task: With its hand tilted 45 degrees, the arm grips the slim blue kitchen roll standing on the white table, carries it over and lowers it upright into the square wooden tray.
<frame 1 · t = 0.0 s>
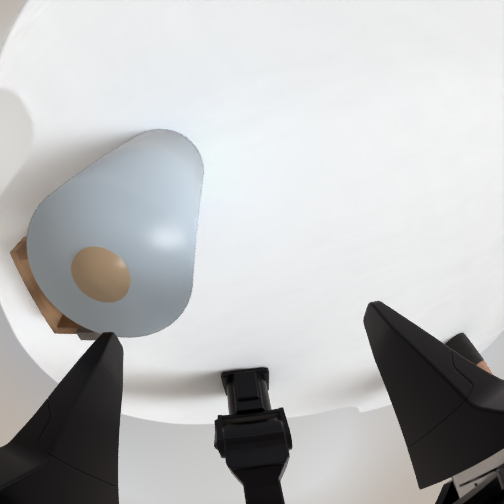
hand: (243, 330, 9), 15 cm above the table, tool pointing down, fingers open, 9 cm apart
kitchen roll: (159, 172, 20), on the table
travel mug: (452, 343, 44), on the table
square wooden tray: (78, 277, 24), on the table
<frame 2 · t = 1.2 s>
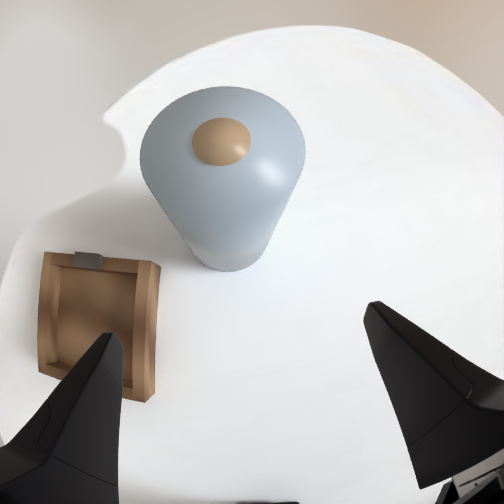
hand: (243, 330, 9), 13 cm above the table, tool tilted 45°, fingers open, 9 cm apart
kitchen roll: (228, 230, 23), on the table
square wooden tray: (99, 323, 21), on the table
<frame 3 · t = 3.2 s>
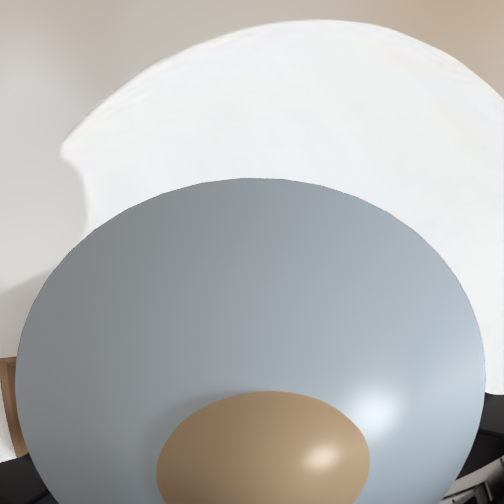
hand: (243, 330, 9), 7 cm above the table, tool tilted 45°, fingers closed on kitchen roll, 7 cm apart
kitchen roll: (243, 347, 15), on the table, touching gripper
square wooden tray: (82, 443, 12), on the table
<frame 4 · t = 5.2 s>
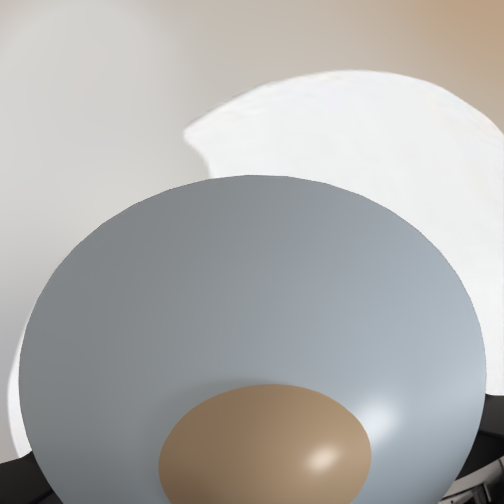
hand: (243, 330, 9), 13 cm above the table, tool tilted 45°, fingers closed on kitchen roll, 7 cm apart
kitchen roll: (245, 346, 15), point 7 cm above the table, touching gripper
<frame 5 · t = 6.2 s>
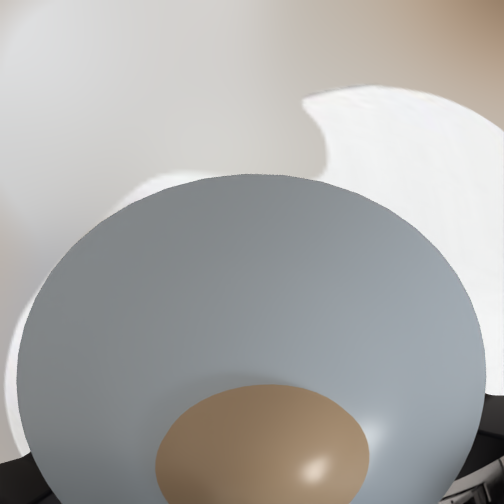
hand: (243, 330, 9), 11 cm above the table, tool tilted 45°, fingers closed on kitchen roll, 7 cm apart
kitchen roll: (245, 346, 15), point 5 cm above the table, touching gripper
when the fingers open (10 cm above the table, at t = 7.0 s): kitchen roll drops 2 cm, resting on square wooden tray.
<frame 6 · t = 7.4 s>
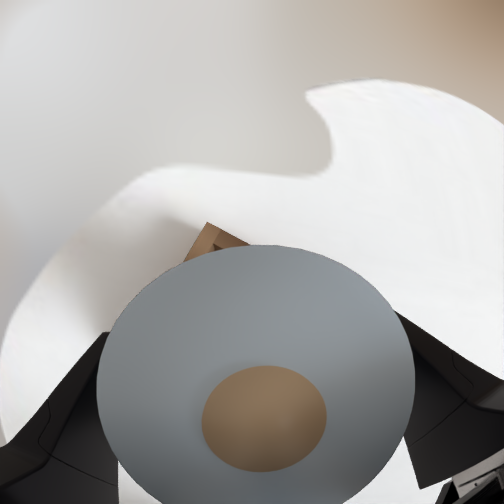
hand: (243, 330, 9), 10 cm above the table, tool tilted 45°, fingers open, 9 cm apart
kitchen roll: (243, 342, 17), point 1 cm above the table, touching square wooden tray
square wooden tray: (241, 340, 18), on the table
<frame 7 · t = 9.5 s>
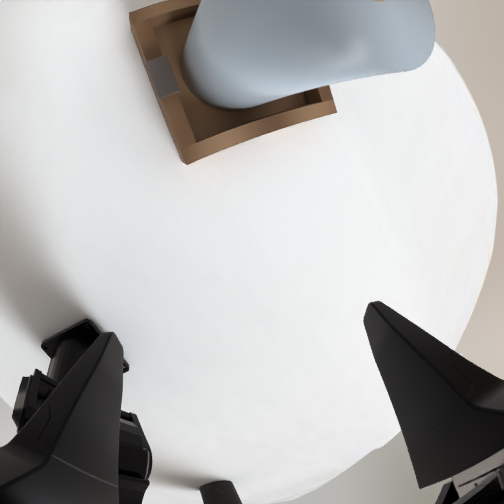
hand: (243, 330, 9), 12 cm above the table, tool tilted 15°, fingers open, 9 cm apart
kitchen roll: (232, 63, 15), point 1 cm above the table, touching square wooden tray
travel mug: (215, 485, 40), on the table
square wooden tray: (229, 65, 16), on the table
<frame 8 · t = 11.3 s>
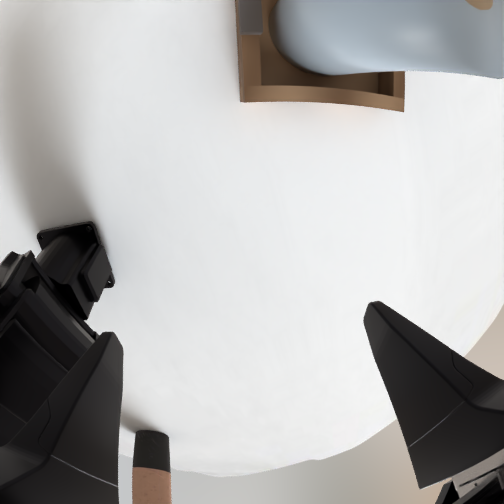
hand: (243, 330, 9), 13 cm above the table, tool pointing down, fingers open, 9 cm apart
kitchen roll: (320, 30, 13), point 1 cm above the table, touching square wooden tray
travel mug: (152, 434, 44), on the table
square wooden tray: (316, 31, 14), on the table
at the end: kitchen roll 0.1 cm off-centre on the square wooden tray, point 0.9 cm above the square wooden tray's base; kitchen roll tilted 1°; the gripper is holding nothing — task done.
